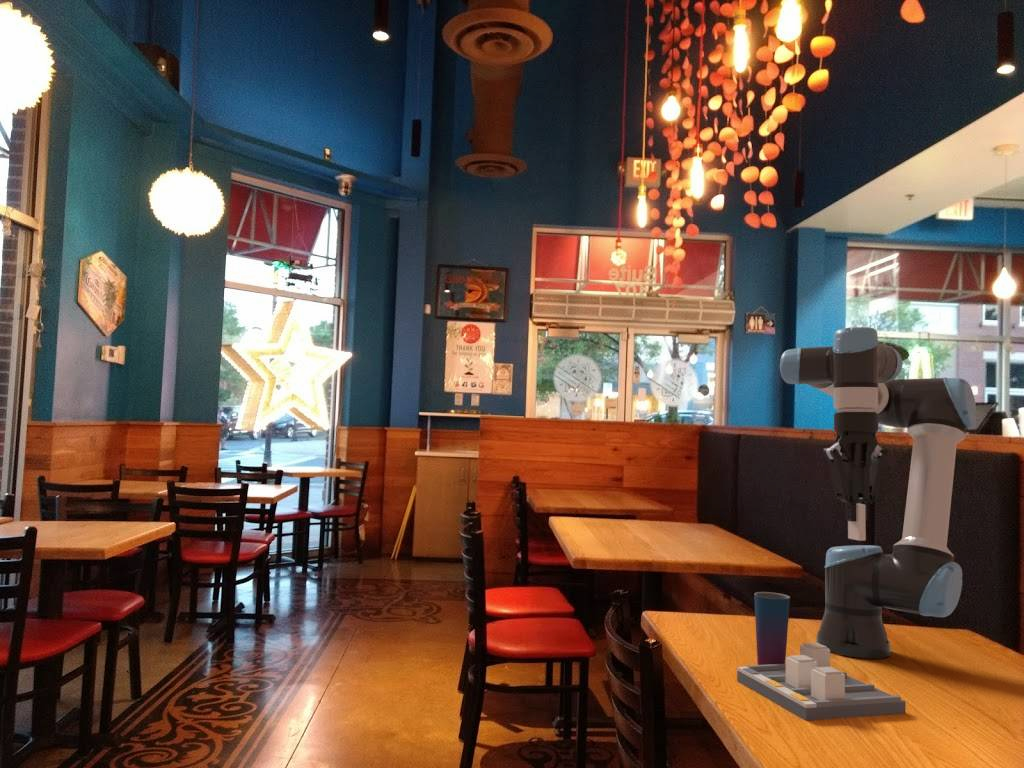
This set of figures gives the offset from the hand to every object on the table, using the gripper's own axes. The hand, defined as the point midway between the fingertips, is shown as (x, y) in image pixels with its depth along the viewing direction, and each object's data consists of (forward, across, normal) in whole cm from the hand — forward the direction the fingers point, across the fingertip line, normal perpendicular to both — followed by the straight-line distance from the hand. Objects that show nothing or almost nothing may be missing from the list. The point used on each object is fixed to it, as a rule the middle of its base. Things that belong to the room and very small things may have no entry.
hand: (856, 539), depth 135 cm
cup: (+29, +7, -16) cm, 33 cm away
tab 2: (+26, +11, +5) cm, 29 cm away
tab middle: (+26, +11, -2) cm, 28 cm away
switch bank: (+28, +8, -2) cm, 29 cm away
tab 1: (+26, +2, -8) cm, 28 cm away
